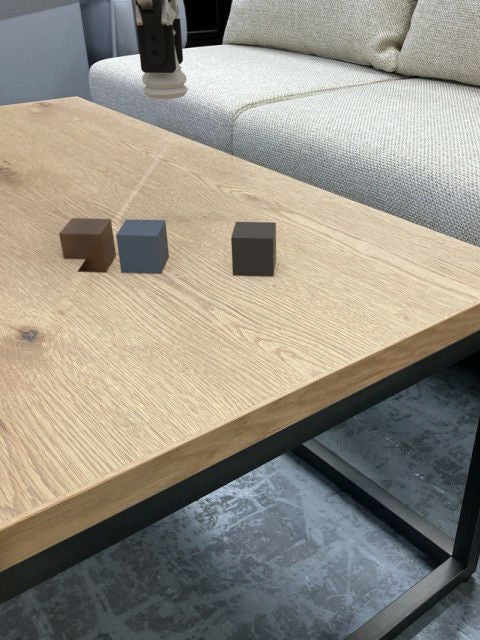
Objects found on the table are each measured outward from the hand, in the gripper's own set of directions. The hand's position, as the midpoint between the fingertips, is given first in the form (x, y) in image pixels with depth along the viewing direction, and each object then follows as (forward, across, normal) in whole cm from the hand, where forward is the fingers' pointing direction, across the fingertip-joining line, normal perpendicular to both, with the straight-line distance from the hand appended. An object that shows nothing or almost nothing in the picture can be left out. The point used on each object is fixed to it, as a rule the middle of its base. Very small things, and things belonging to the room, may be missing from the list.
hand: (162, 65), depth 67 cm
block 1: (+17, +8, -8) cm, 20 cm away
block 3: (+17, +8, +9) cm, 21 cm away
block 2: (+17, +8, -2) cm, 19 cm away
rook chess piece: (+3, 0, 0) cm, 3 cm away
